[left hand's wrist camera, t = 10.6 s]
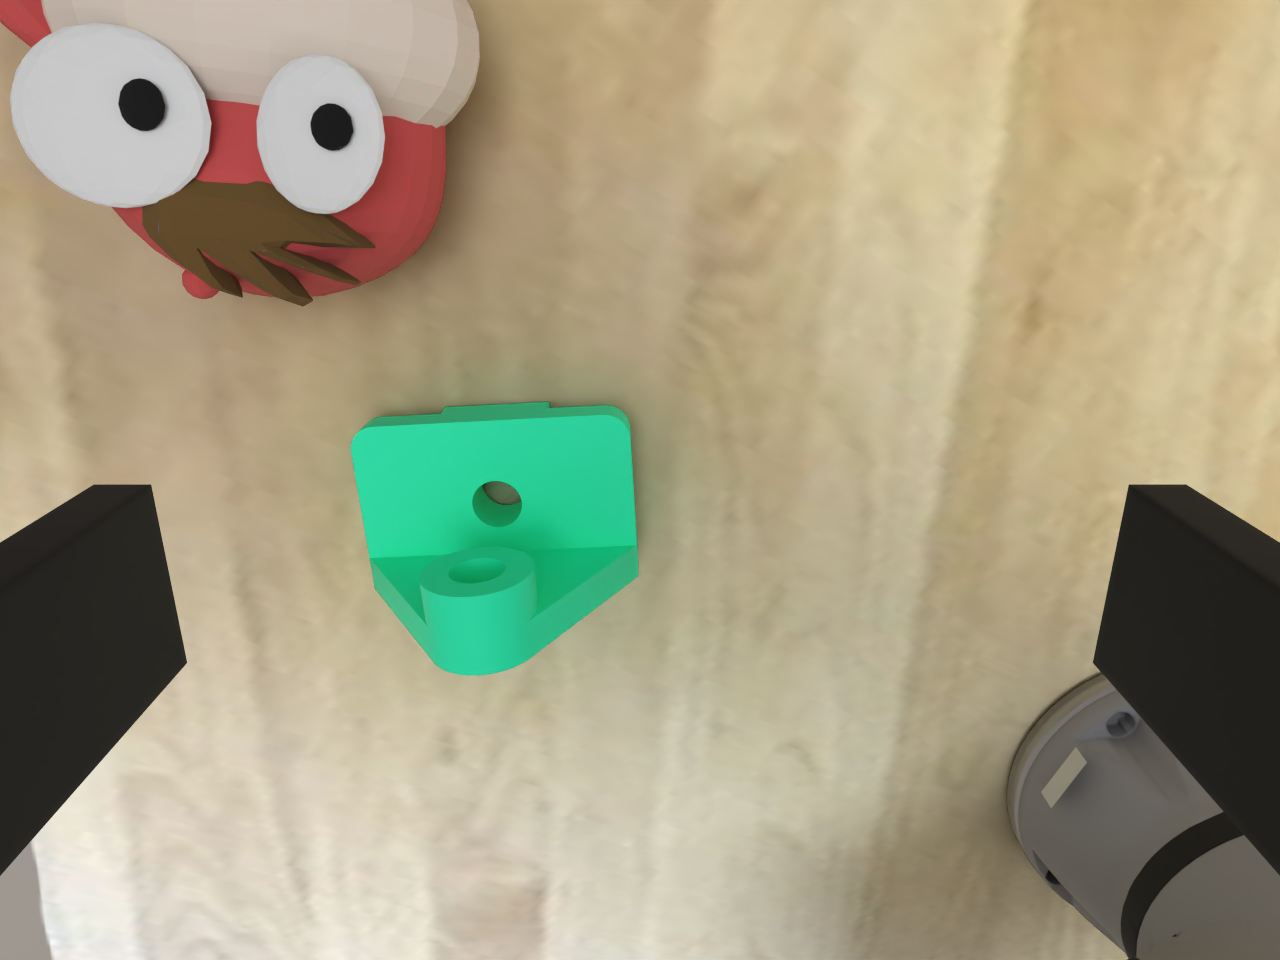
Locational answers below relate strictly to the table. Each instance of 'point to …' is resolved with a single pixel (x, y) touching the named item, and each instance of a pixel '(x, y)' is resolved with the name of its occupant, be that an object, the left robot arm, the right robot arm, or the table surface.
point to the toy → (250, 128)
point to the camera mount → (497, 525)
